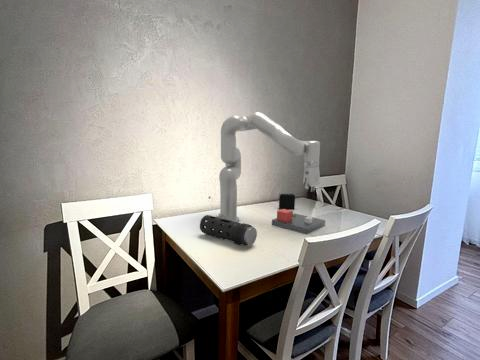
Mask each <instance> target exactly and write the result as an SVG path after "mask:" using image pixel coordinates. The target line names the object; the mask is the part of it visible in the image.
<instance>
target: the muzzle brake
mask: <svg viewBox="0 0 480 360" xmlns="http://www.w3.org/2000/svg"><path fill="white" fill-rule="evenodd" d="M199 230H200V232H201V233H203V234H205V235H207V236H209V237H213V238H216V239H220V240H224V241H225V240H226V241H229V242H233V244H235V245H237V246H240V245H242V246H244V247H247V246H253V245H254V243H255V242H256V241H257V238H258V237H257V236H258V231H257V229H256V228H255V227H254V226H253V225H251V224H248V223H244V222H243V223H241V222H239V221H238V222H234V221H230V220H226V219H222V218H218V217H216V216H214V215H208V214H206V215H204V216H203V217H202V218H201V219H200V221H199Z"/></svg>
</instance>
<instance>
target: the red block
mask: <svg viewBox="0 0 480 360" xmlns="http://www.w3.org/2000/svg"><path fill="white" fill-rule="evenodd" d="M293 213H294V210H286V209H279V210H277V211H276V218H277V220H280V221H284V222H288V221H290V220H292V217H293Z"/></svg>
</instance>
